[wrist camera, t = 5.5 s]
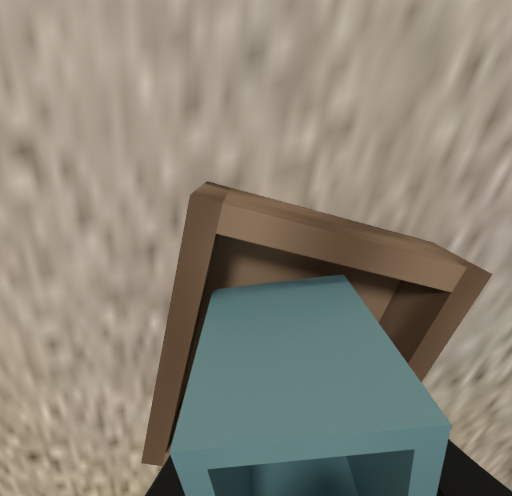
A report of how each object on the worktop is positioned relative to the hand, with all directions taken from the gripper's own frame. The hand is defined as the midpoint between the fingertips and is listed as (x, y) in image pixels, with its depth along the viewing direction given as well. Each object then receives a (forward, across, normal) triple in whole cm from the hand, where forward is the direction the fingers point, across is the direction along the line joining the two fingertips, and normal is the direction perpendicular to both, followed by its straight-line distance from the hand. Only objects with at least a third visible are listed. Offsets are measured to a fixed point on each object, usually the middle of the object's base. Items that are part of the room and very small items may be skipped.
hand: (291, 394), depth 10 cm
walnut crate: (+4, 0, 0) cm, 4 cm away
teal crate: (+2, 0, 0) cm, 2 cm away
